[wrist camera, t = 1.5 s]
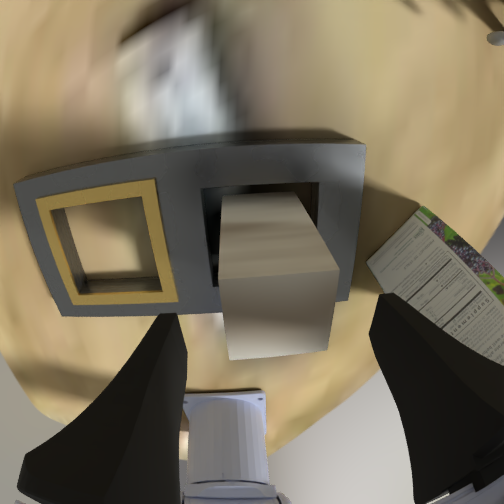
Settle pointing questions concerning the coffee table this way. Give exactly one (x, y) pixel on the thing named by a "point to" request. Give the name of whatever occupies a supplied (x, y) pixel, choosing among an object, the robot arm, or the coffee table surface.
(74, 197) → the rail
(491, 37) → the gray elephant figurine
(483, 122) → the coffee table surface
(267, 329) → the peg
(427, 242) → the syrup box
